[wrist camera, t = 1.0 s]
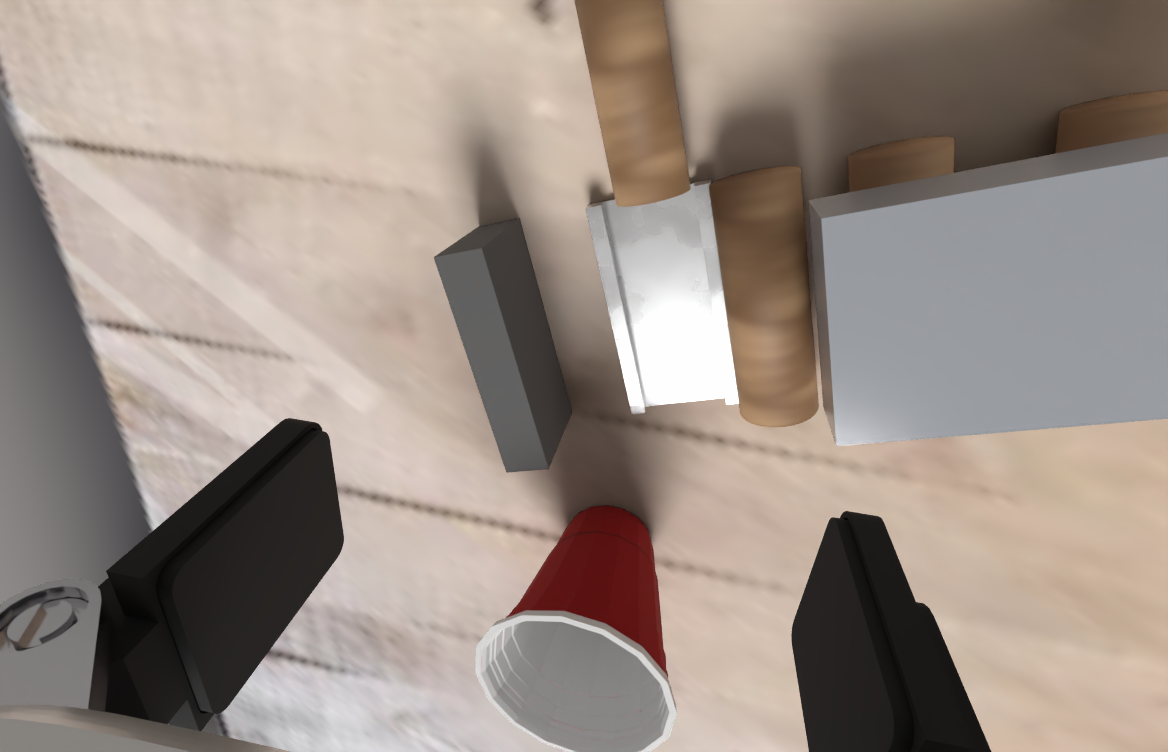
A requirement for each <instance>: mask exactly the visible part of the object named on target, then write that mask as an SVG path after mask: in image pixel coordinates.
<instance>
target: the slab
mask: <svg viewBox="0 0 1168 752" xmlns="http://www.w3.org/2000/svg"><path fill="white" fill-rule="evenodd" d="M808 203H809V217H810V230H811V244H812V258H813V271H814V285H815V299H816V312H817V326H818V340H819V353H820V367H821V381H822V394H823V407H824V410H825V413H826V416H827V419H828V422H829V425H830V429H831V432H832V435H833V438H834V441H835V444H836V446H845V445H857V444H869V443H881V442H893V441H905V440H917V439H929V438H941V437H953V436H965V435H977V434H989V433H1001V432H1013V431H1025V430H1037V429H1049V428H1061V427H1073V426H1085V425H1098V424H1110V423H1122V422H1134V421H1146V420H1158V419H1168V133H1163V134H1157V135H1152V136H1147V137H1142V138H1136V139H1131V140H1126V141H1120V142H1115V143H1110V144H1104V145H1099V146H1094V147H1088V148H1083V149H1078V150H1072V151H1067V152H1062V153H1056V154H1051V155H1046V156H1040V157H1035V158H1030V159H1024V160H1019V161H1014V162H1008V163H1003V164H998V165H993V166H987V167H982V168H977V169H971V170H966V171H961V172H955V173H950V174H945V175H939V176H934V177H929V178H923V179H918V180H913V181H907V182H902V183H897V184H891V185H886V186H881V187H875V188H870V189H865V190H859V191H854V192H849V193H844V194H838V195H833V196H828V197H822V198H817V199H812V200H808Z"/></svg>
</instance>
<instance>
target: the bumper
mask: <svg viewBox="0 0 1168 752" xmlns="http://www.w3.org/2000/svg"><path fill="white" fill-rule="evenodd" d="M434 259H435V262H436V265H437V268H438V271H439V274H440V277H441V280H442V283H443V286H444V289H445V292H446V295H447V298H448V301H449V304H450V307H451V310H452V312H453V315H454V318H455V321H456V324H457V327H458V330H459V333H460V336H461V339H462V342H463V345H464V348H465V351H466V354H467V357H468V360H469V363H470V366H471V369H472V372H473V375H474V377H475V380H476V383H477V386H478V389H479V392H480V395H481V398H482V401H483V404H484V407H485V410H486V413H487V416H488V419H489V422H490V425H491V428H492V431H493V434H494V437H495V439H496V442H497V445H498V448H499V451H500V454H501V457H502V460H503V463H504V466H505V469H506V472H518V471H530V470H542V469H549V467H550V464H551V462H552V459H553V457H554V454H555V452H556V450H557V447H558V445H559V442H560V440H561V437H562V435H563V433H564V430H565V428H566V425H567V423H568V420H569V418H570V415H571V413H572V410H571V407H570V403H569V399H568V396H567V392H566V388H565V385H564V381H563V377H562V373H561V370H560V366H559V362H558V359H557V355H556V351H555V348H554V344H553V340H552V337H551V333H550V329H549V326H548V322H547V318H546V314H545V311H544V307H543V303H542V300H541V296H540V292H539V289H538V285H537V281H536V278H535V274H534V270H533V267H532V263H531V259H530V255H529V252H528V248H527V244H526V241H525V237H524V233H523V230H522V226H521V222H520V219H514V220H509V221H505V222H500V223H495V224H490V225H485V226H480V227H478V228H476V229H475V230H473V231H472V232H470V233H469V234H467V235H466V236H464V237H463V238H461V239H460V240H459V241H457V242H456V243H454V244H453V245H451V246H450V247H448V248H447V249H445V250H444V251H442V252H441V253H440V254H438V255H437V256H435V257H434Z"/></svg>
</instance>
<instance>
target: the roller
mask: <svg viewBox="0 0 1168 752" xmlns="http://www.w3.org/2000/svg"><path fill="white" fill-rule="evenodd" d="M575 5H576V10H577V14H578V19H579V24H580V29H581V34H582V39H583V44H584V49H585V54H586V59H587V64H588V69H589V74H590V78H591V83H592V88H593V93H594V98H595V103H596V108H597V113H598V118H599V123H600V128H601V133H602V138H603V142H604V147H605V152H606V157H607V162H608V167H609V172H610V177H611V182H612V187H613V192H614V197H615V202H616V205H617V206H620V207H630V206H639V205H645V204H650V203H655V202H659V201H663V200H667V199H670V198H673V197H676V196H679V195H682V194H684V193H686V192H688V191H689V190H690V189H691V187H690V180H689V173H688V167H687V160H686V153H685V147H684V140H683V134H682V127H681V120H680V114H679V107H678V100H677V94H676V87H675V81H674V74H673V67H672V61H671V54H670V48H669V41H668V34H667V28H666V21H665V14H664V8H663V1H662V0H575Z"/></svg>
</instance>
